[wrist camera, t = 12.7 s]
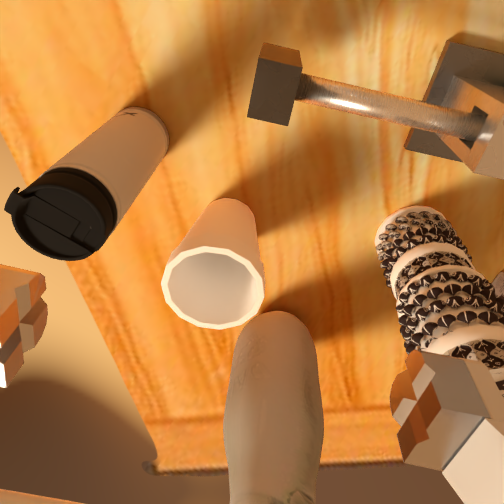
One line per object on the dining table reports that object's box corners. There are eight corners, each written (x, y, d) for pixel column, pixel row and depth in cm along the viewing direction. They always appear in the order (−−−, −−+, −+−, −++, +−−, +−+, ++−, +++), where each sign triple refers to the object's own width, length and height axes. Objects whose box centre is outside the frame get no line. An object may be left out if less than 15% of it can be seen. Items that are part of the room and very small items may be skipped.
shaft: (263, 42, 36) (258, 57, 29) (483, 94, 37) (528, 120, 30) (253, 92, 38) (246, 116, 31) (462, 139, 39) (499, 174, 32)
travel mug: (125, 90, 43) (22, 162, 26) (180, 131, 45) (118, 223, 28) (97, 139, 46) (-11, 232, 29) (151, 175, 48) (78, 283, 31)
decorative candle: (358, 223, 49) (412, 405, 28) (440, 188, 47) (567, 363, 25) (386, 281, 53) (452, 479, 32) (463, 252, 51) (590, 449, 30)
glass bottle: (286, 362, 62) (287, 599, 38) (224, 331, 60) (185, 563, 36) (329, 319, 57) (359, 559, 34) (264, 283, 55) (247, 515, 31)
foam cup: (227, 168, 47) (210, 226, 36) (285, 223, 50) (285, 292, 39) (172, 221, 51) (141, 288, 40) (229, 269, 54) (214, 343, 43)
